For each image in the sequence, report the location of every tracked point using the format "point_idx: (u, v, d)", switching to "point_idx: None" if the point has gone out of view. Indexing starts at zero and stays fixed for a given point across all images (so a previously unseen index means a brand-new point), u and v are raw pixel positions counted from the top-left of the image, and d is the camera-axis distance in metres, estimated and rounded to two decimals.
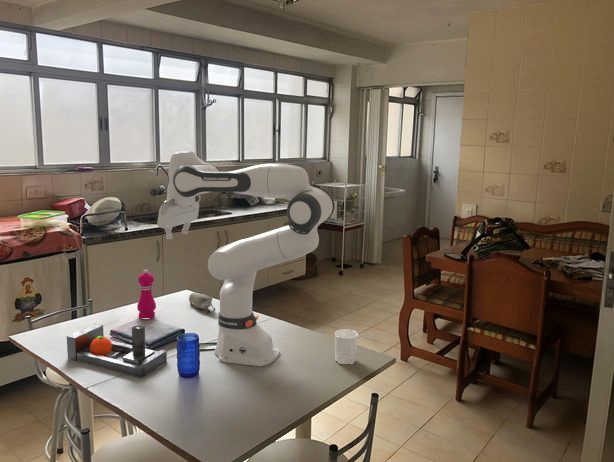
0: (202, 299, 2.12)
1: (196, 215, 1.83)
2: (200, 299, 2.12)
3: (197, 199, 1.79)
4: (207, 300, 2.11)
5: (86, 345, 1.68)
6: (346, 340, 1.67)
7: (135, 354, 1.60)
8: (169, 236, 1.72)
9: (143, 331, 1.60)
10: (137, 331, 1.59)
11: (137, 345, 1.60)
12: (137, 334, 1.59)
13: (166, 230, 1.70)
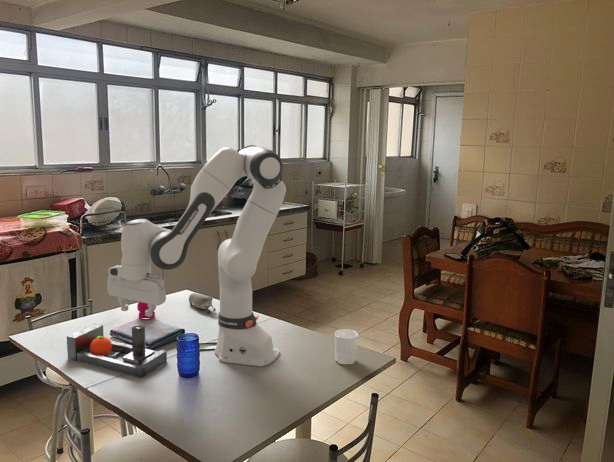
0: (202, 299, 2.11)
1: None
2: (200, 299, 2.12)
3: None
4: (207, 300, 2.11)
5: (86, 345, 1.68)
6: (346, 340, 1.67)
7: (135, 354, 1.60)
8: (151, 312, 1.58)
9: (143, 331, 1.60)
10: (137, 331, 1.59)
11: (137, 345, 1.60)
12: (137, 334, 1.59)
13: (152, 307, 1.56)
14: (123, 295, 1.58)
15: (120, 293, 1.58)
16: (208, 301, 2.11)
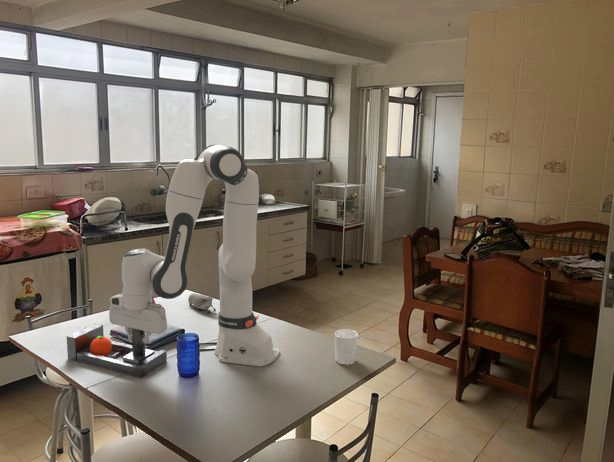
0: (202, 300, 2.11)
1: None
2: (201, 300, 2.11)
3: None
4: (207, 301, 2.10)
5: (86, 345, 1.68)
6: (346, 340, 1.67)
7: (135, 354, 1.60)
8: (148, 339, 1.60)
9: (143, 331, 1.60)
10: (137, 331, 1.59)
11: (137, 345, 1.60)
12: (137, 334, 1.59)
13: (148, 334, 1.59)
14: (125, 324, 1.60)
15: (122, 322, 1.60)
16: (208, 301, 2.10)
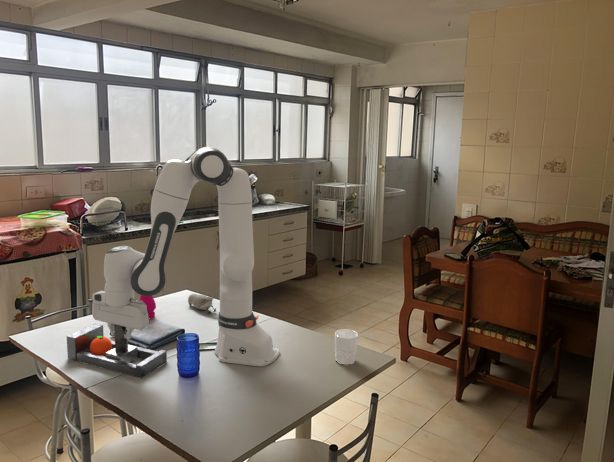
0: (203, 300, 2.11)
1: None
2: (201, 300, 2.11)
3: None
4: (208, 301, 2.10)
5: (86, 345, 1.68)
6: (346, 340, 1.67)
7: (118, 350, 1.63)
8: (130, 335, 1.63)
9: (125, 327, 1.63)
10: (119, 327, 1.61)
11: (119, 341, 1.62)
12: (120, 330, 1.61)
13: (130, 330, 1.61)
14: (107, 320, 1.62)
15: (104, 318, 1.63)
16: (208, 302, 2.10)
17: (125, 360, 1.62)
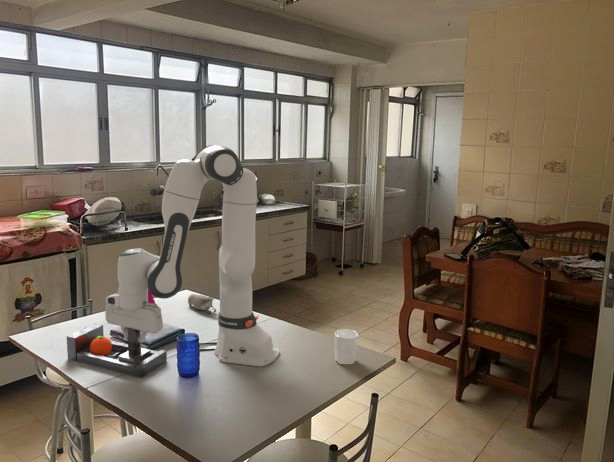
0: (203, 300, 2.10)
1: None
2: (201, 300, 2.11)
3: None
4: (208, 301, 2.10)
5: (86, 345, 1.68)
6: (346, 340, 1.67)
7: (131, 353, 1.61)
8: (144, 338, 1.61)
9: (139, 330, 1.61)
10: (133, 330, 1.59)
11: (133, 344, 1.60)
12: (133, 333, 1.59)
13: (144, 333, 1.60)
14: (121, 323, 1.61)
15: (118, 321, 1.61)
16: (209, 302, 2.10)
17: None
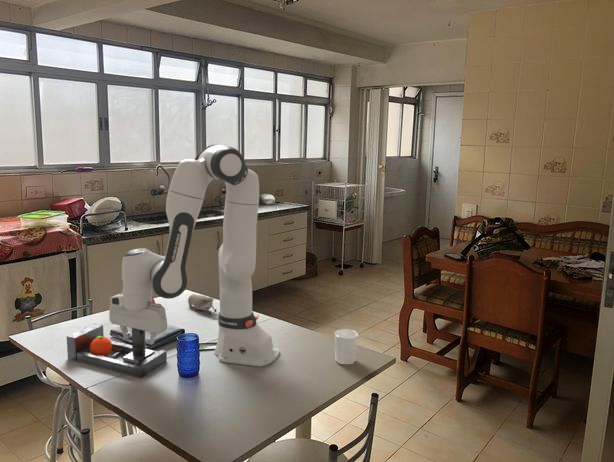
0: (203, 301, 2.10)
1: None
2: (201, 300, 2.10)
3: None
4: (208, 301, 2.10)
5: (86, 345, 1.68)
6: (346, 340, 1.67)
7: (135, 354, 1.60)
8: (153, 340, 1.60)
9: (143, 331, 1.60)
10: (137, 331, 1.59)
11: (137, 345, 1.60)
12: (137, 334, 1.59)
13: (154, 335, 1.58)
14: (125, 323, 1.60)
15: (122, 321, 1.60)
16: (209, 302, 2.10)
17: None
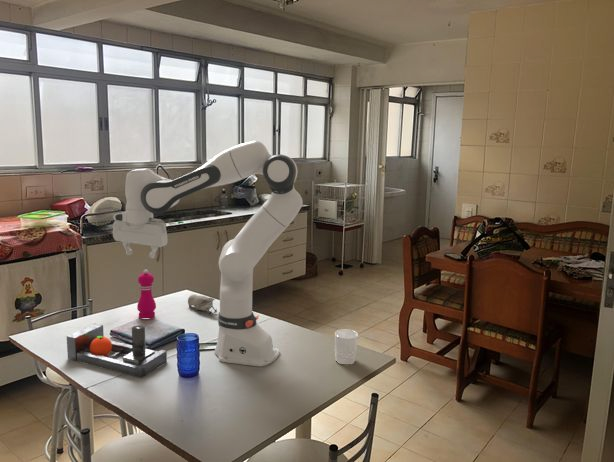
0: (203, 301, 2.10)
1: None
2: (201, 301, 2.10)
3: None
4: (208, 302, 2.09)
5: (86, 345, 1.68)
6: (346, 340, 1.67)
7: (135, 354, 1.60)
8: (154, 254, 1.71)
9: (143, 331, 1.60)
10: (137, 331, 1.59)
11: (137, 345, 1.60)
12: (137, 334, 1.59)
13: (155, 249, 1.70)
14: (128, 239, 1.71)
15: (125, 237, 1.72)
16: (209, 302, 2.09)
17: None
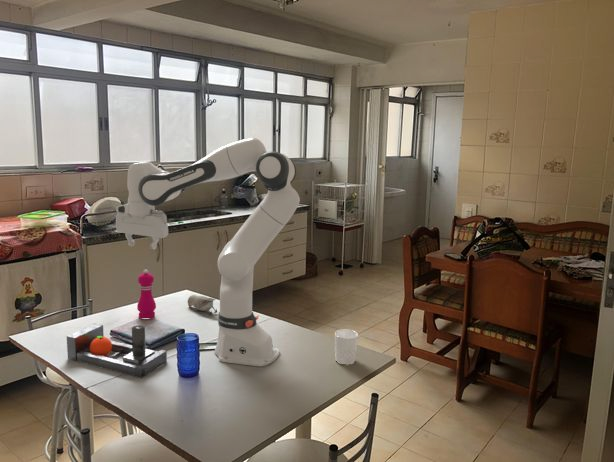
0: (203, 301, 2.09)
1: None
2: (202, 301, 2.10)
3: None
4: (209, 302, 2.09)
5: (86, 345, 1.68)
6: (346, 340, 1.67)
7: (135, 354, 1.60)
8: (155, 245, 1.76)
9: (143, 331, 1.60)
10: (137, 331, 1.59)
11: (137, 345, 1.60)
12: (137, 334, 1.59)
13: (156, 240, 1.75)
14: (130, 231, 1.76)
15: (127, 229, 1.77)
16: (210, 303, 2.09)
17: None
